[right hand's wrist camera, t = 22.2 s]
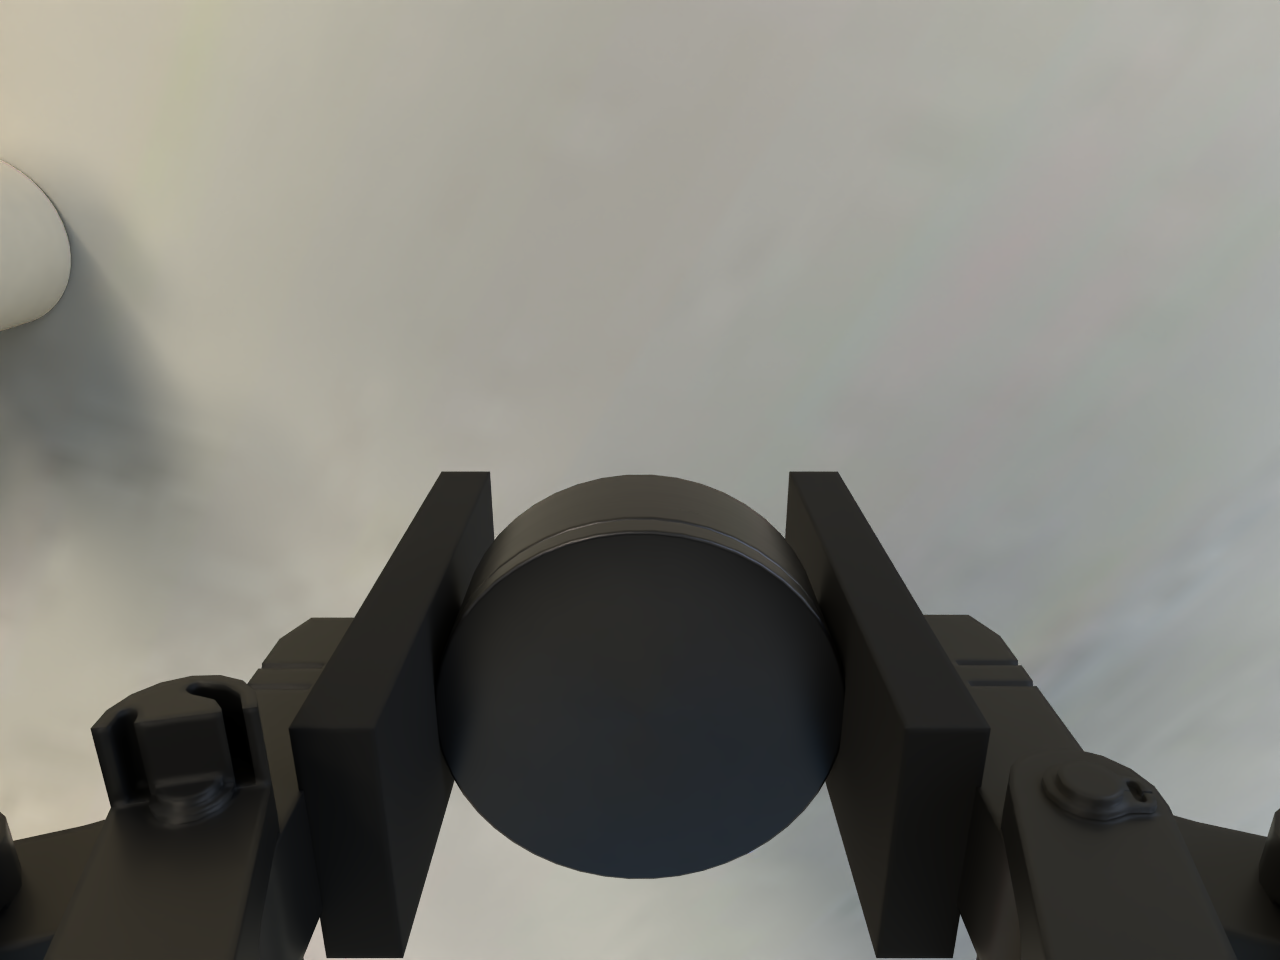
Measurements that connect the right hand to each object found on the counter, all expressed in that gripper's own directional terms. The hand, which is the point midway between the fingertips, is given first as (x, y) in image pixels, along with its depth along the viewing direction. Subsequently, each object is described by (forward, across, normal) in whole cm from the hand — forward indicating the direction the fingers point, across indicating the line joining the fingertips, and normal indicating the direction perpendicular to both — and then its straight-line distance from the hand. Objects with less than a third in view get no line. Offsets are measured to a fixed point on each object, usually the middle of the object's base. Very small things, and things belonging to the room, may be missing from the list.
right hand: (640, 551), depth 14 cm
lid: (-4, 0, 0) cm, 4 cm away
